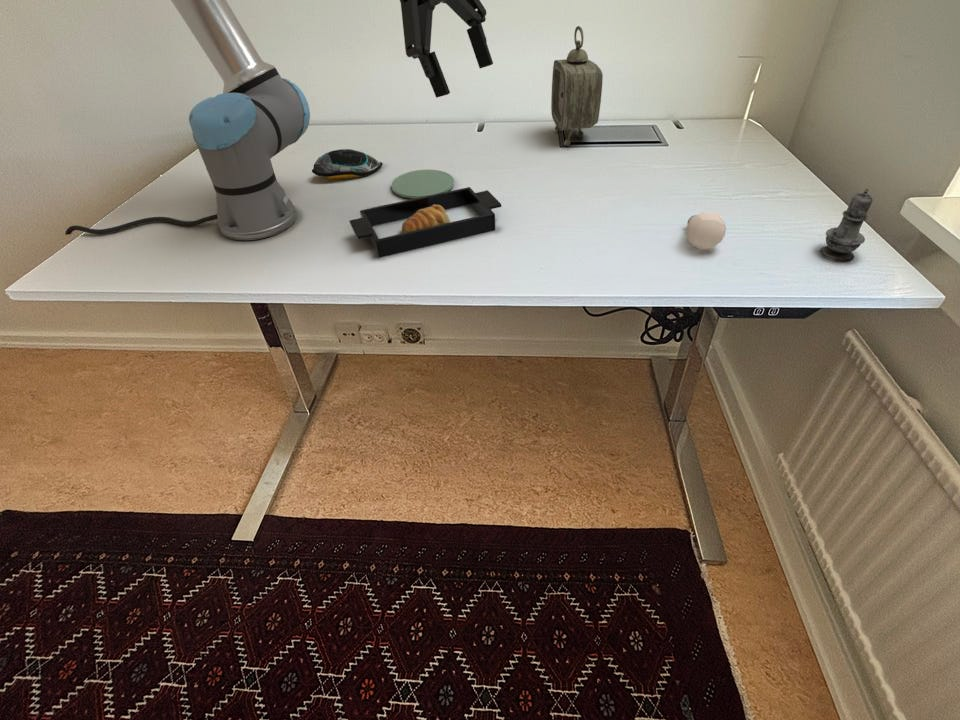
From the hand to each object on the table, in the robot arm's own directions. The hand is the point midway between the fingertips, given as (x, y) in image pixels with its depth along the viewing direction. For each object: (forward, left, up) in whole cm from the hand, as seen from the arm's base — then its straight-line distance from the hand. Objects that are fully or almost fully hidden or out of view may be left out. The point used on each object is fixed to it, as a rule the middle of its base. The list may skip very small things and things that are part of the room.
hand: (465, 80), depth 94 cm
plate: (-5, +17, -25) cm, 31 cm away
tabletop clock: (+39, +27, -25) cm, 53 cm away
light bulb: (+34, -29, -25) cm, 51 cm away
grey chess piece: (+52, -43, -25) cm, 72 cm away
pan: (-10, -2, -25) cm, 27 cm away
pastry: (-10, -2, -25) cm, 27 cm away
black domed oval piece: (-19, +32, -25) cm, 45 cm away
